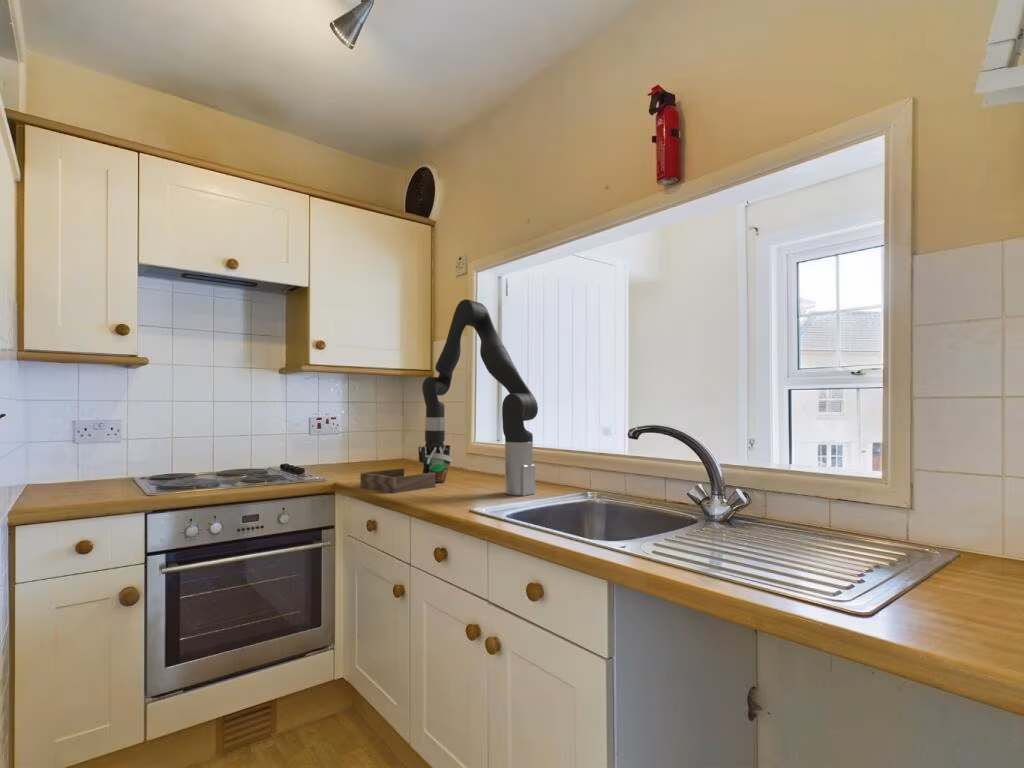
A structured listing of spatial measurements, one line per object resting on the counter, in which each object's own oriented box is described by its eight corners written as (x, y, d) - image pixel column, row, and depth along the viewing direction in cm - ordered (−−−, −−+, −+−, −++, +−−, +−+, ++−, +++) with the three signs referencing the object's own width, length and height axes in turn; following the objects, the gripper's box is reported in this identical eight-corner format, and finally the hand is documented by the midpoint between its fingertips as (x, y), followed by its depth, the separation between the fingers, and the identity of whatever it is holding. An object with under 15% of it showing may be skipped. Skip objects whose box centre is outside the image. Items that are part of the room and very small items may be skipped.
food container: (411, 477, 204) (417, 451, 207) (420, 480, 209) (426, 455, 212) (439, 479, 198) (444, 452, 201) (447, 482, 203) (452, 457, 207)
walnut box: (435, 486, 193) (435, 472, 193) (393, 493, 180) (393, 478, 180) (402, 481, 206) (402, 468, 206) (360, 486, 192) (360, 472, 193)
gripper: (426, 430, 198) (425, 475, 198) (455, 429, 209) (454, 472, 209) (413, 429, 203) (412, 473, 203) (442, 428, 214) (441, 470, 214)
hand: (434, 472), depth 206 cm, fingers closed on food container, 6 cm apart
